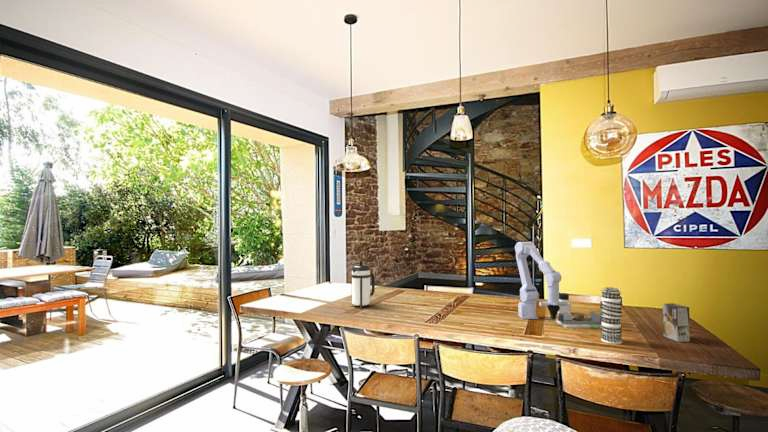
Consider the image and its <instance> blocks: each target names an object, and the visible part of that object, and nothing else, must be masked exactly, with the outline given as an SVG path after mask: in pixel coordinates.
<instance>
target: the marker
mask: <svg viewBox="0 0 768 432" xmlns="http://www.w3.org/2000/svg"><path fill="white" fill-rule="evenodd" d="M573 318H576V320H574V321H584V318H585V315H583V314H582V313H573Z"/></svg>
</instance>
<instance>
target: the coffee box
mask: <svg viewBox="0 0 768 432" xmlns="http://www.w3.org/2000/svg"><path fill="white" fill-rule="evenodd" d="M662 332H663V333H662V336H663V337H665V338H667V339H670V340H673V341H675V342H678V343H680V342H681V343H682V342H683V343H685V342H691V341H690V337H691V336H690V333H691V331H690V307H689V306H685V305H681V304H678V303H672V302H670V303H662Z"/></svg>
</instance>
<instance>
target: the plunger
mask: <svg viewBox="0 0 768 432" xmlns="http://www.w3.org/2000/svg"><path fill="white" fill-rule="evenodd" d="M558 318H559V320H560V321H561V322H563V321H573V320H576V318H574V314H572V313H571V314H570V313H560V314H558Z"/></svg>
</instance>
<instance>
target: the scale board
mask: <svg viewBox="0 0 768 432" xmlns="http://www.w3.org/2000/svg"><path fill="white" fill-rule="evenodd" d="M589 311H590V313H589V317H584V321H574V320H573V321H563V322H561V321H560V320H559V317H556V318H557V319H555V322H556V323H557V324H559V325H560V326H562V327H563V328H565V329H567V328H568V329H571V328H572V329H575V328H576V329H582V328H583V329H601V328H602V327H601V325H602V316H601V313H598V312H595V311H594V310H589Z"/></svg>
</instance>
